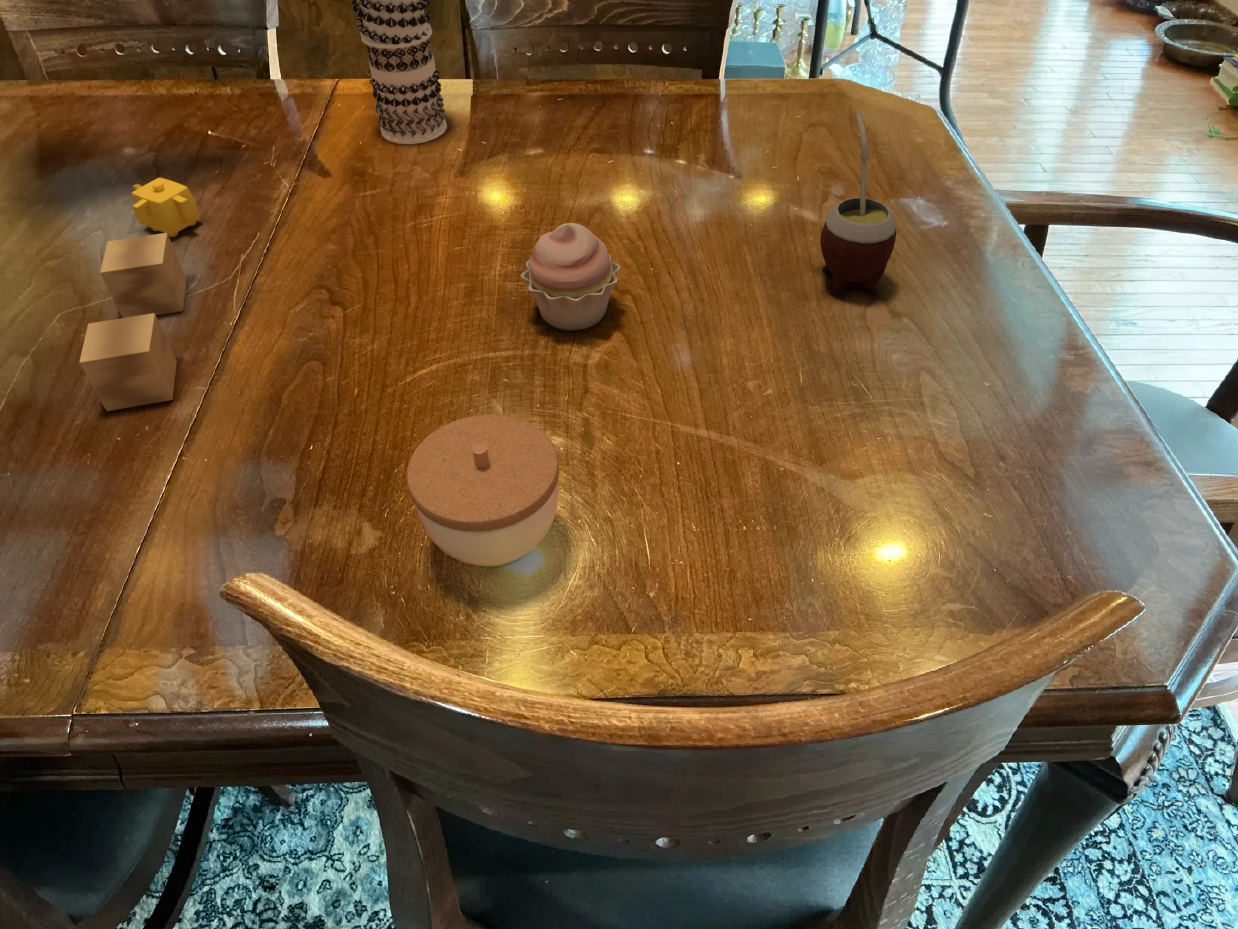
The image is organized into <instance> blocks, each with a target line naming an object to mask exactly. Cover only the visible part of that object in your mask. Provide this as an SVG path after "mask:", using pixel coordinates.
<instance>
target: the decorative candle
mask: <svg viewBox="0 0 1238 929" xmlns="http://www.w3.org/2000/svg"><path fill="white" fill-rule="evenodd" d="M430 4H431V2H430V0H351V9H352V11H353V12H354V13H355V15H356V16H357V18H356V19H355V20H356V23H357V25H356V27H357V30H359V31H360V39H361V42H362V43H364V44H366V48H367V53H368V58H369V60H368V65H369V69H370V77H369V78H370V79H369V84H370V85H371V86H372V88H373V89H372V93H371V94H372V97H373V98H374V99H375V106H374V110H375V113H376V114H378V116H377V123H378V125H379V126H380V132H381V137H383V138H384V139H385V140H387V141H388V142H390V143H394V144H398V145H416V144H423V143H427V142H429V141H433V140H436V139H438V138H439V137H441V136H442V135H443V134H445V132H446V130H447V129H448V124H447V120H446V117H447V115H446V114H445V113H446V110H445V108H444V106H445V103H444V98H443V96H442V94H441V92H442V84H441V82H439V80H440V71H439V70H438V69H437V68H436V63H435V62H436V61H435V56H434V54H433V52H432V46H431V39H430V37H431V36H432V34H433V29H432V26H431V24H430V23H428V22H429V21H431V19H432V13H431V12H430V11H429V10H427V9H426V8H428V7H429V6H430Z"/></svg>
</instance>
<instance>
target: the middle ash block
mask: <svg viewBox="0 0 1238 929" xmlns="http://www.w3.org/2000/svg"><path fill="white" fill-rule="evenodd" d="M179 260H180V259H179V258H178V256H177V253H176V251H175V249H174V246H173V244H172V242H171V239H170V237H169V236H168V233H164V232H161V233H156V234H155V233H154V234H149V235H142V236H134V237H127V238H120V239H114V240H108V241H106V246H105V250H104V254H103V258H102V263H101V267H100V271H99V273H100V275H101V277H102V279H103V281H104V283H105V286H106V288H107V289H108V291H109V294H110V295H111V298H112V299H113V301H114V303H115V305H116V307H117V310H118V312H119V314H120V316H121V318H127V317H133V316H140V315H146V314H152V313H155V315H156V316H161V315H167V314H174V313H180V312H183V311H184V307H185V298H186V291H187V290H186V289H187V281H188V280H187V277H186V275H185V273H184V270H183V268H182V265H181V262H180V261H179Z"/></svg>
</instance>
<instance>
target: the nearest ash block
mask: <svg viewBox="0 0 1238 929" xmlns="http://www.w3.org/2000/svg"><path fill="white" fill-rule="evenodd" d="M78 362H79V365H80V366H81V368H82V370H83V372H84V374H85V376H86V377H87V379H88V382H90V385H91V386H92V388H93V389H94V392H95V393H96V395H97V397H98V399H99V400H100V402H101V404H102V407H103V408H104V410H105V411H106V412H111V411H117V410H121V409H123V410H124V409H128V408H135V407H140V406H146V405H151V404H159V403H163V402H169V401H173V400H174V391H175V383H176V382H175V381H176V375H177V366H178V361H177V359H176V356H175V354H174V352H173V350H172V348H171V345H170V343H169V340H168V339H167V337H166V334H165V331H164V330H163V328H162V326H161V323H160V321H159V319H158V317H157V315H155V313H152V314H146V315H140V316H133V317H127V318H122V317H121V318H115V319H108V320H103V321H95V322H89V323H87V327H86V332H85V336H84V340H83V344H82V348H81V353H80V357H79V361H78Z"/></svg>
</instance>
